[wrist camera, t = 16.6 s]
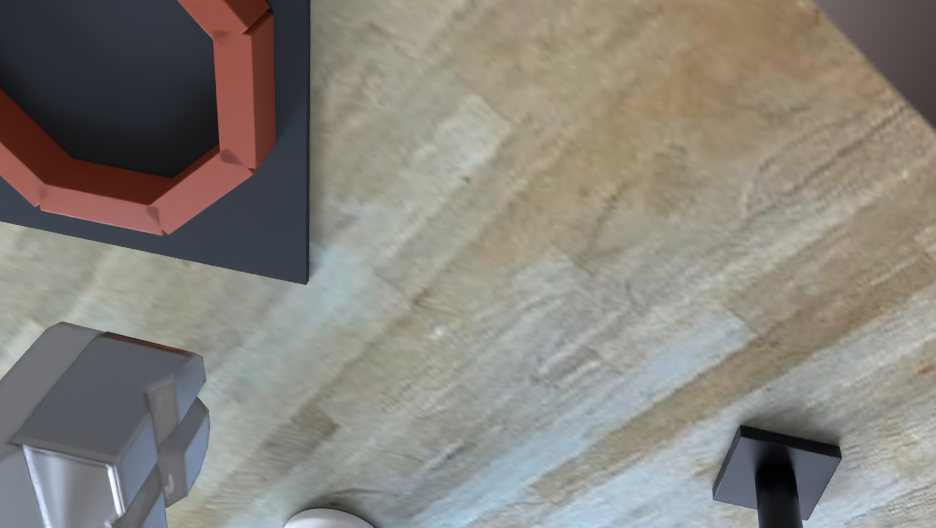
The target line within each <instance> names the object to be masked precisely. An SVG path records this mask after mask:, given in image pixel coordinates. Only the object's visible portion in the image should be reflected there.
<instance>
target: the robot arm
mask: <svg viewBox="0 0 936 528" xmlns="http://www.w3.org/2000/svg"><path fill="white" fill-rule="evenodd" d="M205 381H206V375H205V368H204V361H203V357H202V356H200V355H198V354H196V353H193V352H189V351H185V350H181V349H177V348H173V347H169V346H165V345H161V344H156V343H152V342H148V341H144V340H140V339H136V338H132V337H128V336H124V335H119V334H115V333H111V332H104V331H100V330H96V329H91V328H87V327H83V326H79V325H75V324H71V323H67V322H60V323H58V324H55V325H53V326H51V327H49V328H47V329H46V330H45V331H44V332H43V333H42V334H41V335H40V337H39V338H38V339H37V340H36V341H35V342H34V343H33V344H32V346H31V347H30V348H29V349H28V350H27V351H26V352H25V353H24V354H23V356H22V357H21V358H20V359H19V360H18V361H17V362H16V363H15V364H14V366H13V367H12V368H11V369H10V370H9V371H8V372H7V373H6V374H5V376H4V377H3V378H2V379H1V380H0V528H168V526H167V519H166V511H165V508H167V507H169V506H171V505H172V504H174V503H176V502H177V501H179V500H181V499H183V498H184V497H186V496H188V494H189V492H190V490H191V488H192V486H193V484H194V482H195V480H196V479H197V477H198V475H199V473H200V470H201V467H202V463H203V460H204V457H205V454H206V451H207V448H208V441H209V432H210V418H209V410H208V409H207V407H206V406H205V405H204V404H203V403H202V401H201V400H200V399H199V398H198V397H197V395H198V393H199V391H200V390H201V388H202V386H203V385H204V383H205Z"/></svg>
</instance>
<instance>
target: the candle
mask: <svg viewBox="0 0 936 528" xmlns="http://www.w3.org/2000/svg"><path fill="white" fill-rule="evenodd" d="M284 528H374V527H373V526H372V525H370V524H369V523H367V522H366V521H364V520H362V519H360V518H358V517H356V516H354V515H351V514H349V513H346V512H342V511H338V510H333V509H310V510H305V511H302V512H300V513H298V514H296V515H294V516H293V517H291V518H290V519H289V521H288V522H287V523H286V525H285V527H284Z"/></svg>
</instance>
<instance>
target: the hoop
mask: <svg viewBox="0 0 936 528" xmlns="http://www.w3.org/2000/svg"><path fill="white" fill-rule="evenodd" d="M178 1H179V3H180V4H181V5H182V6H183V7H184V8H185V9H186V10H187V11H188V13H189V14H190V15H191V16H192V17H193V18H194V19H195V20H196V21H197V23H198V24H199V25H200V26H201V27H202V28H203V29H204V30H205V31H206V33H207V34H208V35H209V36H210V37H211V38H212V39H213V47H214V63H215V79H216V95H217V111H218V127H219V144H218V145H216V146H215V147H214V148H212V149H211V150H210V151H208V152H207V153H206V154H205V155H203V156H202V157H201V158H199V159H198V160H197V161H195V162H194V163H193V164H191V165H190V166H189V167H187V168H186V169H185V170H184V171H182V172H181V173H180V174H178V175H177V176H176V177H174V178H173V179H171V178H166V177H161V176H156V175H151V174H146V173H141V172H136V171H131V170H126V169H121V168H116V167H111V166H107V165H102V164H97V163H92V162H87V161H82V160H77V159H73V158H72V157H71V156H70V155H69V154H68V153H67V152H66V151H65V150H63V149H62V148H61V147H60V146H59V145H58V144H57V143H56V142H55V141H54V140H53V139H52V138H51V137H50V136H49V135H48V134H47V133H46V132H45V131H44V130H43V129H42V128H41V127H40V126H39V125H38V124H36V123H35V122H34V121H33V120H32V119H31V118H30V117H29V116H28V115H27V114H26V113H25V112H24V111H23V110H22V109H21V108H20V107H19V106H18V105H17V104H16V103H15V102H14V101H13V100H12V99H11V98H10V97H8V96H7V95H6V94H5V93H4V92H3V91H2V90H1V89H0V175H1V176H2V177H3V178H4V179H5V180H6V181H7V182H8V183H9V184H10V185H11V186H13V187H14V188H15V189H16V190H17V191H18V192H19V193H20V194H21V195H22V196H23V197H25V198H26V199H27V200H28V201H29V202H30V203H31V204H32V205H33V206H34V207H36V206H37V205H39V204H40V208H41V210H42V211H47V212H52V213H56V214H61V215H66V216H71V217H76V218H80V219H85V220H90V221H95V222H100V223H104V224H109V225H114V226H119V227H124V228H129V229H133V230H138V231H143V232H148V233H153V234H157V235H164V234H165V232H166V233H167V234H168V235H169V234H171V233H172V232H173V231H175V230H176V229H178V228H179V227H180V226H182V225H183V224H185V223H186V222H187V221H189V220H190V219H192V218H193V217H194V216H196V215H197V214H199V213H200V212H201V211H203V210H204V209H206V208H207V207H208V206H210V205H211V204H213V203H214V202H215V201H217V200H218V199H220V198H221V197H222V196H224V195H225V194H227V193H228V192H229V191H231V190H232V189H234V188H235V187H236V186H238V185H239V184H241V183H242V182H243V181H245V180H246V179H248V178H249V177H250V176H252V175H253V174H254V173H255V172H256V170H257V169H258V168H259V166H260V165H261V164H262V163H263V161H264V160H265V159H266V157H267V156H268V155H269V153H270V152H271V151H272V149H273V146H274V145H275V143H276V121H275V67H274V15H273V14H272V13H267V12H266V11H267V10H268V9H269V8H270V6H269V4H268V3H267V2H266V1H265V0H178Z"/></svg>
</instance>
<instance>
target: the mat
mask: <svg viewBox="0 0 936 528" xmlns="http://www.w3.org/2000/svg"><path fill="white" fill-rule="evenodd" d="M265 1H266V2H267V3H268V4H269V6H270V8H269V9H268V10H267V11H266V12H267V13H272V14H273V15H274V67H275V121H276V143H275V145H274V146H273V149H272V151H271V152H270V153H269V155H268V156H267V157H266V159H265V160H264V161H263V163H262V164H261V165H260V166H259V168H258V169H257V170H256V172H255V173H254V174H253V175H252V176H250V177H249V178H248V179H246V180H245V181H243V182H242V183H241V184H239V185H238V186H236V187H235V188H234V189H232V190H231V191H229V192H228V193H227V194H225V195H224V196H222V197H221V198H220V199H218V200H217V201H215V202H214V203H213V204H211V205H210V206H208V207H207V208H206V209H204V210H203V211H201V212H200V213H199V214H197V215H196V216H194V217H193V218H192V219H190V220H189V221H187V222H186V223H185V224H183V225H182V226H180V227H179V228H178V229H176V230H175V231H173V232H172V233H171V234H169V235H168V234H167V233H166V232H165V234H164V235H157V234H153V233H148V232H143V231H138V230H133V229H129V228H124V227H119V226H114V225H109V224H104V223H100V222H95V221H90V220H85V219H80V218H76V217H71V216H66V215H61V214H56V213H52V212H47V211H42V210H41V208H40V204H39V205H37V206H36V207H34V206H33V205H32V204H31V203H30V202H29V201H28V200H27V199H26V198H25V197H23V196H22V195H21V194H20V193H19V192H18V191H17V190H16V189H15V188H14V187H13V186H11V185H10V184H9V183H8V182H7V181H6V180H5V179H4V178H3V177H2V176H1V175H0V221H1V222H6V223H11V224H16V225H21V226H25V227H30V228H35V229H40V230H45V231H49V232H54V233H59V234H64V235H69V236H73V237H78V238H83V239H88V240H93V241H97V242H102V243H107V244H112V245H117V246H121V247H126V248H131V249H136V250H141V251H145V252H150V253H155V254H160V255H165V256H169V257H174V258H179V259H184V260H189V261H193V262H198V263H203V264H208V265H213V266H217V267H222V268H227V269H232V270H237V271H241V272H246V273H251V274H256V275H261V276H265V277H270V278H275V279H280V280H285V281H289V282H294V283H299V284H304V285H306V284H307V283H308V281H309V120H310V0H265ZM0 89H1V90H2V91H3V92H4V93H5V94H6V95H7V96H8V97H10V98H11V99H12V100H13V101H14V102H15V103H16V104H17V105H18V106H19V107H20V108H21V109H22V110H23V111H24V112H25V113H26V114H27V115H28V116H29V117H30V118H31V119H32V120H33V121H34V122H35V123H36V124H38V125H39V126H40V127H41V128H42V129H43V130H44V131H45V132H46V133H47V134H48V135H49V136H50V137H51V138H52V139H53V140H54V141H55V142H56V143H57V144H58V145H59V146H60V147H61V148H62V149H63V150H65V151H66V152H67V153H68V154H69V155H70V156H71V157H72V158H73V159H77V160H82V161H87V162H92V163H97V164H102V165H107V166H111V167H116V168H121V169H126V170H131V171H136V172H141V173H146V174H151V175H156V176H161V177H166V178H171V179H173V178H174V177H176V176H177V175H178V174H180V173H181V172H182V171H184V170H185V169H186V168H187V167H189V166H190V165H191V164H193V163H194V162H195V161H197V160H198V159H199V158H201V157H202V156H203V155H205V154H206V153H207V152H208V151H210V150H211V149H212V148H214V147H215V146H216V145H218V144H219V127H218V111H217V95H216V79H215V63H214V47H213V39H212V38H211V37H210V36H209V35H208V34H207V33H206V31H205V30H204V29H203V28H202V27H201V26H200V25H199V24H198V23H197V21H196V20H195V19H194V18H193V17H192V16H191V15H190V14H189V13H188V11H187V10H186V9H185V8H184V7H183V6H182V5H181V4H180V3H179V1H178V0H0Z"/></svg>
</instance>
